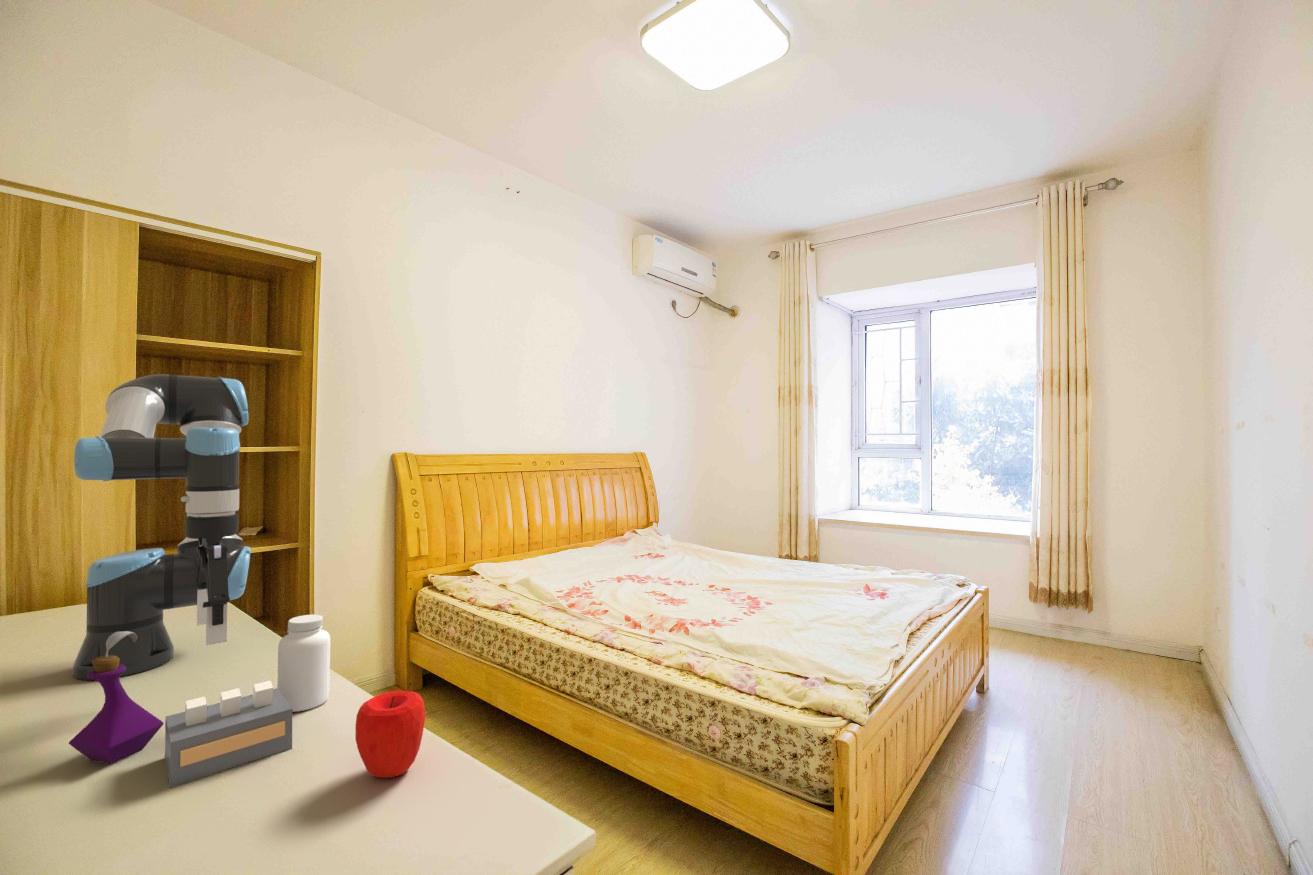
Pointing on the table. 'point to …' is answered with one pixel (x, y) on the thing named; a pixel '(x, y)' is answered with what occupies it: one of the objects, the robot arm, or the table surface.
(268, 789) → the table surface
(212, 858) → the table surface
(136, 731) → the perfume bottle
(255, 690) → the cream sugar cube
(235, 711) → the paddle middle
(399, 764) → the apple
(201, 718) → the paddle left
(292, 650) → the pill bottle
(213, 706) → the breaker panel
